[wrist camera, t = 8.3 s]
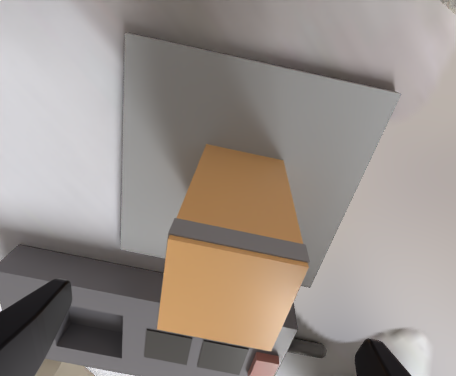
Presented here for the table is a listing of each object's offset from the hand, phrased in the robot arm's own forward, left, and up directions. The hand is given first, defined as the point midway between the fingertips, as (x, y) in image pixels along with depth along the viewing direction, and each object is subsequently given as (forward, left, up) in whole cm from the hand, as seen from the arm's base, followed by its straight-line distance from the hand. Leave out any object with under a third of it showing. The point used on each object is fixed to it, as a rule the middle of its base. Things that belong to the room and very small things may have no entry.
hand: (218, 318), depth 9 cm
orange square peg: (0, 0, -9) cm, 9 cm away
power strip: (+2, +13, -9) cm, 16 cm away
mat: (0, 0, -9) cm, 9 cm away
